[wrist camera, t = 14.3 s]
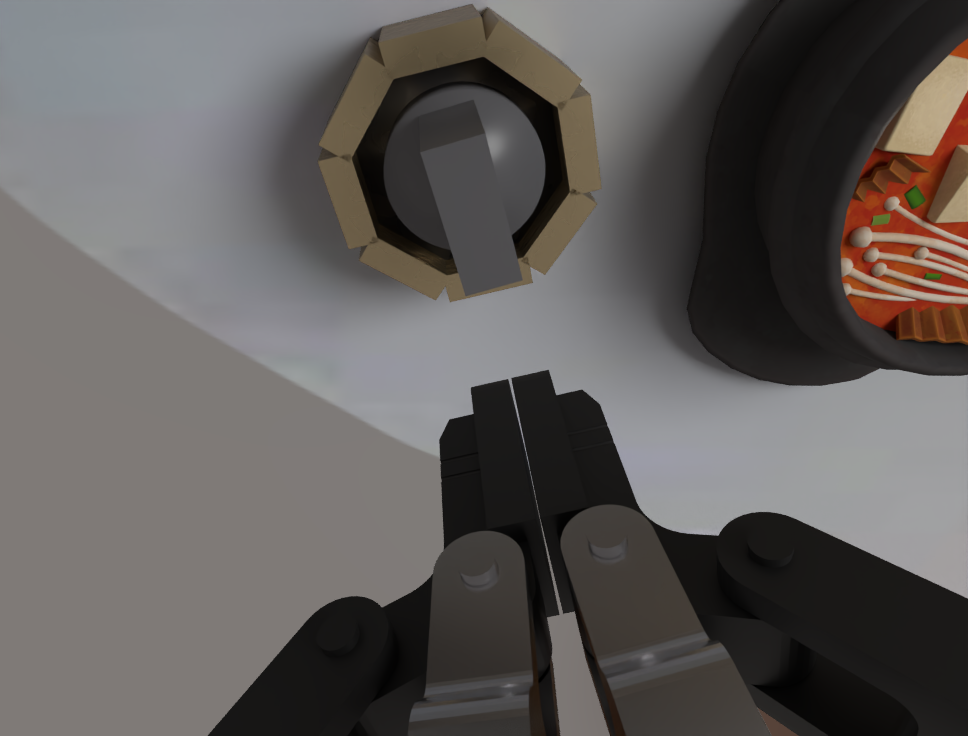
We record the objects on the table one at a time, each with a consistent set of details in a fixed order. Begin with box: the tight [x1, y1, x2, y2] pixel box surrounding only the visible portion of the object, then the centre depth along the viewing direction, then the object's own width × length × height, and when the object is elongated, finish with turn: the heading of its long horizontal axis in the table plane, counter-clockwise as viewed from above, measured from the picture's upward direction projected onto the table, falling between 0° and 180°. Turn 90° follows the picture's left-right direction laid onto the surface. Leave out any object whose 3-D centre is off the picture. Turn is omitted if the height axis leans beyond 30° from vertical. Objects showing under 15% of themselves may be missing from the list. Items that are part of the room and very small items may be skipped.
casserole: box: [687, 0, 968, 386], centre depth 26 cm, size 25×19×8 cm
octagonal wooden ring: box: [318, 4, 601, 302], centre depth 27 cm, size 10×10×4 cm
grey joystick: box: [384, 81, 545, 296], centre depth 24 cm, size 6×6×6 cm
